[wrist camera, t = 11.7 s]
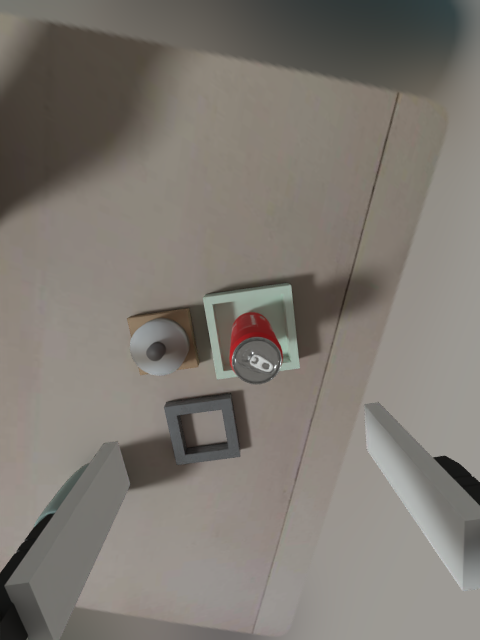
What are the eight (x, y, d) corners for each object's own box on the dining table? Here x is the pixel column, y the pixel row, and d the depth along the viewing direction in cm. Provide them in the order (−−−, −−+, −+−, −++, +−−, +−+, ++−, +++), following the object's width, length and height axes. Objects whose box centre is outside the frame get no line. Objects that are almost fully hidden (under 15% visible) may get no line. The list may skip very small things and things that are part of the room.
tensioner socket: (166, 402, 41) (164, 407, 40) (230, 393, 41) (230, 398, 40) (178, 457, 43) (176, 465, 42) (240, 449, 43) (240, 456, 42)
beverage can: (243, 303, 37) (246, 324, 26) (277, 322, 38) (294, 351, 26) (224, 336, 38) (219, 371, 27) (257, 354, 39) (266, 395, 27)
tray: (205, 294, 38) (202, 297, 35) (286, 282, 38) (291, 285, 35) (218, 370, 40) (216, 379, 37) (295, 360, 40) (299, 368, 37)
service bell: (131, 316, 38) (113, 325, 33) (189, 308, 38) (181, 316, 33) (143, 370, 40) (129, 388, 35) (199, 363, 40) (193, 379, 35)
